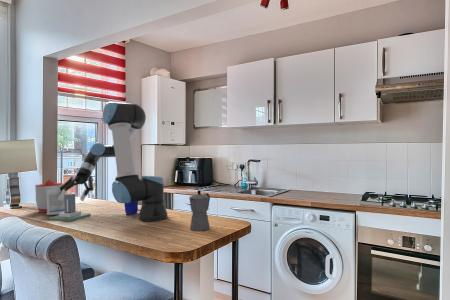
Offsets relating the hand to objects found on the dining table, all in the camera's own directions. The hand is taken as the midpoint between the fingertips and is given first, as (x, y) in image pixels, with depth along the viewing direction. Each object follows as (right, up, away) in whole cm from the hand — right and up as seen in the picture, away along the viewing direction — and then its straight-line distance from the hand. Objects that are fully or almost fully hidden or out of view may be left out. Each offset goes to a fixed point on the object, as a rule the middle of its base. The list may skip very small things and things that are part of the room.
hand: (70, 200), depth 172 cm
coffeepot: (+77, -9, -30) cm, 83 cm away
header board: (0, -10, -1) cm, 10 cm away
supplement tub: (-13, -10, +8) cm, 18 cm away
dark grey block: (0, -9, -1) cm, 9 cm away
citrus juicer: (-24, -11, +21) cm, 34 cm away
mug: (+34, -9, +7) cm, 36 cm away
